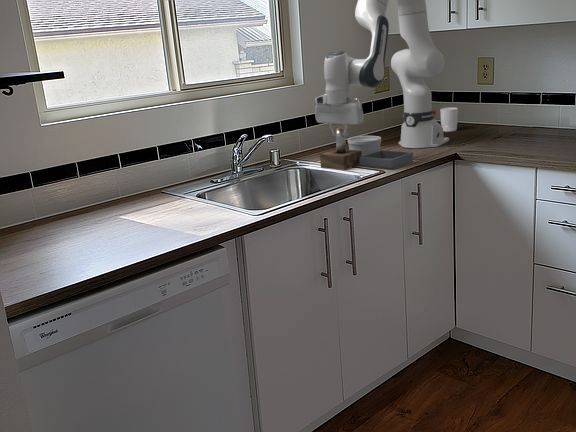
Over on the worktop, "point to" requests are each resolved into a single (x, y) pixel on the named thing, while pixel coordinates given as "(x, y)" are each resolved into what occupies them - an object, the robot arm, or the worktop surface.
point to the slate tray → (386, 159)
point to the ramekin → (365, 144)
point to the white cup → (449, 119)
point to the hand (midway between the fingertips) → (340, 135)
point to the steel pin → (340, 140)
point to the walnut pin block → (340, 159)
